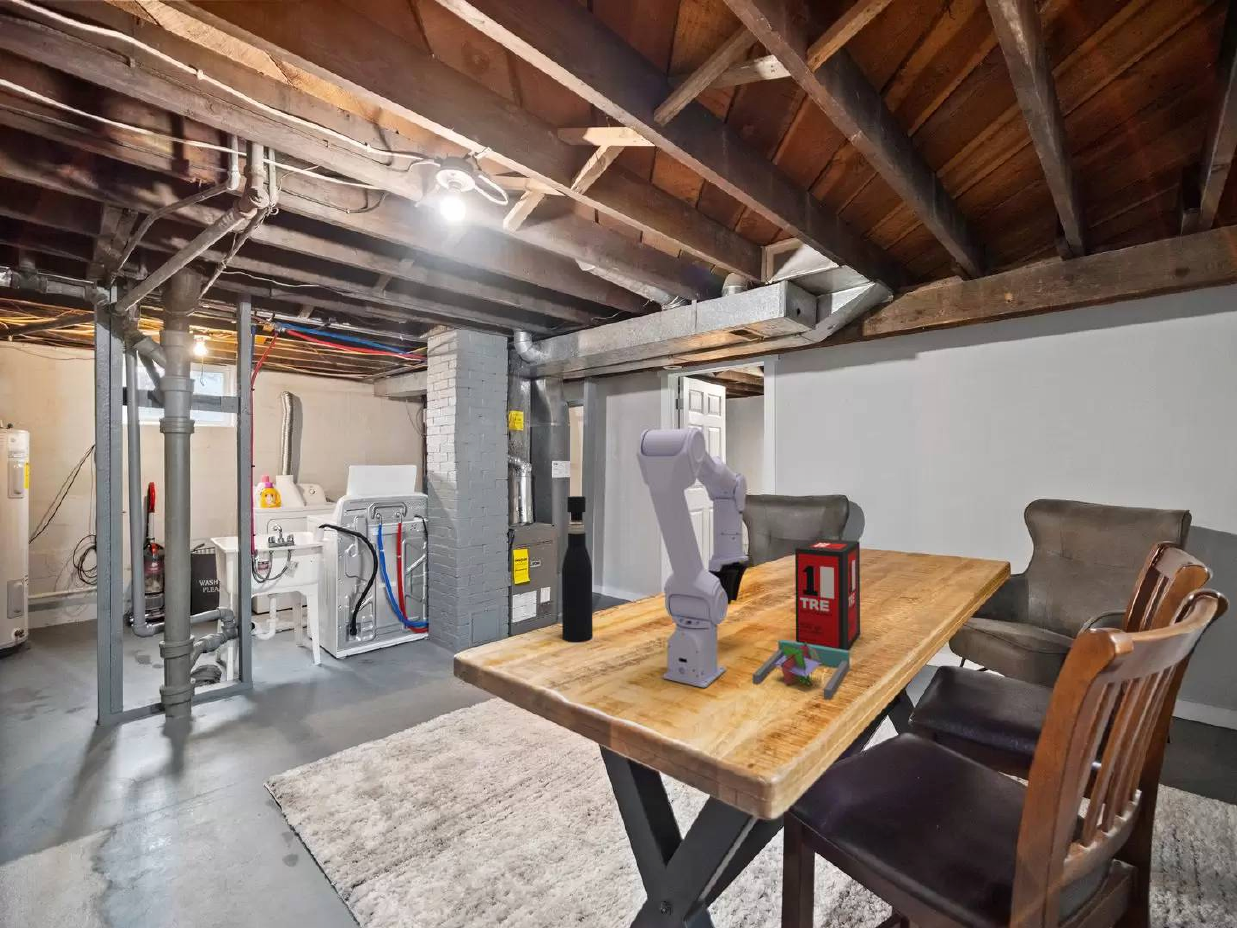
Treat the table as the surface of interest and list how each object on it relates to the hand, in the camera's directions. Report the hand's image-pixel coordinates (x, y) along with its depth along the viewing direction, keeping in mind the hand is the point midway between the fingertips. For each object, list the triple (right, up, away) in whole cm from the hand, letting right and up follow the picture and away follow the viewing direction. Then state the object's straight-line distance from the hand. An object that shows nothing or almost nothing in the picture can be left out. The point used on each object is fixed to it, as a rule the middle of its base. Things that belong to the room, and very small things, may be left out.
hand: (728, 601), depth 109 cm
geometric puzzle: (+8, -10, -17) cm, 21 cm away
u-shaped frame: (+10, -9, -14) cm, 20 cm away
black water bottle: (-31, -10, +8) cm, 33 cm away
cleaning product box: (+22, -10, +4) cm, 24 cm away
